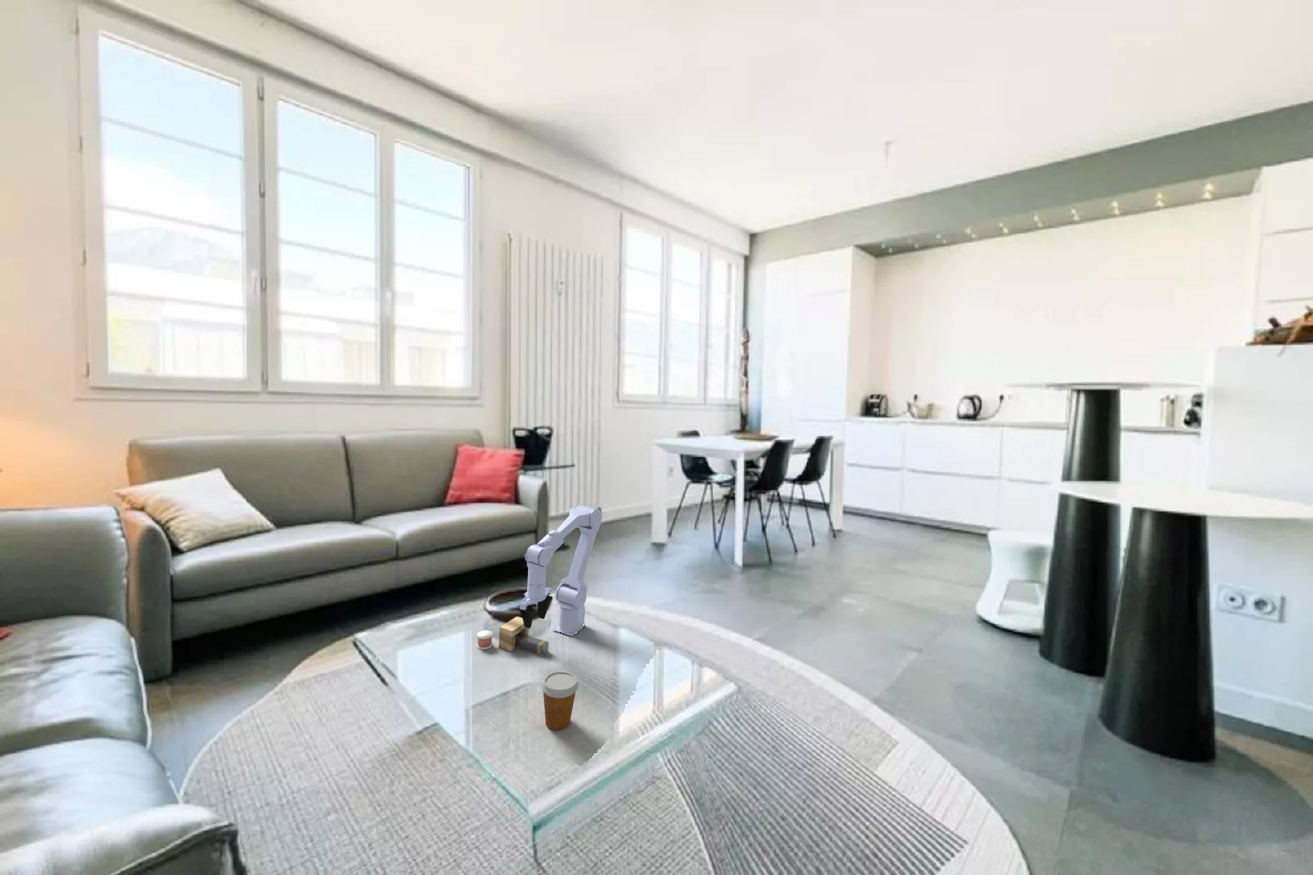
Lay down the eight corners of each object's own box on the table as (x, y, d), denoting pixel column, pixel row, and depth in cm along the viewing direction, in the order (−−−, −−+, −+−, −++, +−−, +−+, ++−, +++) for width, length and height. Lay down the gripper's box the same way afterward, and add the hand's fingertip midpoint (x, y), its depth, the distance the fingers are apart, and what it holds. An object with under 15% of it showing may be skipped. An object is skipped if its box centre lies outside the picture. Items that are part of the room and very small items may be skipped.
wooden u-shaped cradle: (516, 635, 190) (517, 616, 189) (528, 639, 188) (529, 620, 187) (498, 647, 182) (499, 627, 181) (511, 651, 180) (512, 631, 179)
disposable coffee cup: (559, 707, 154) (562, 666, 152) (583, 723, 148) (586, 680, 146) (531, 722, 146) (533, 679, 145) (555, 740, 140) (558, 695, 139)
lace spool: (483, 640, 186) (484, 629, 185) (495, 644, 184) (496, 632, 183) (473, 646, 181) (473, 635, 181) (485, 651, 179) (485, 639, 179)
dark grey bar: (508, 638, 188) (508, 629, 188) (548, 651, 182) (548, 641, 181) (501, 643, 185) (502, 633, 185) (542, 656, 179) (542, 646, 178)
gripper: (539, 572, 187) (537, 611, 189) (512, 587, 174) (510, 628, 176) (557, 577, 185) (555, 616, 187) (531, 592, 171) (529, 634, 173)
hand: (534, 622), depth 181 cm, fingers open, 7 cm apart
